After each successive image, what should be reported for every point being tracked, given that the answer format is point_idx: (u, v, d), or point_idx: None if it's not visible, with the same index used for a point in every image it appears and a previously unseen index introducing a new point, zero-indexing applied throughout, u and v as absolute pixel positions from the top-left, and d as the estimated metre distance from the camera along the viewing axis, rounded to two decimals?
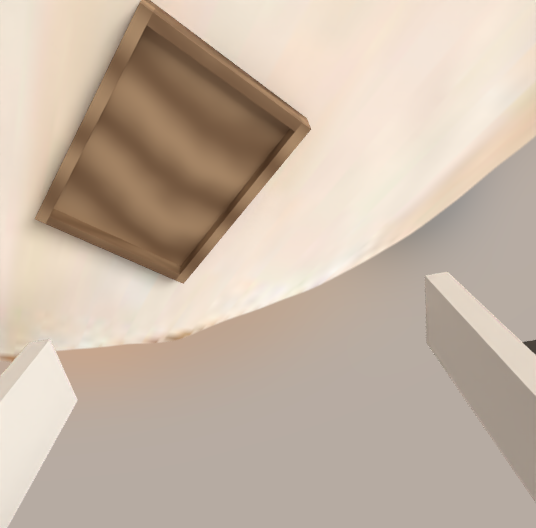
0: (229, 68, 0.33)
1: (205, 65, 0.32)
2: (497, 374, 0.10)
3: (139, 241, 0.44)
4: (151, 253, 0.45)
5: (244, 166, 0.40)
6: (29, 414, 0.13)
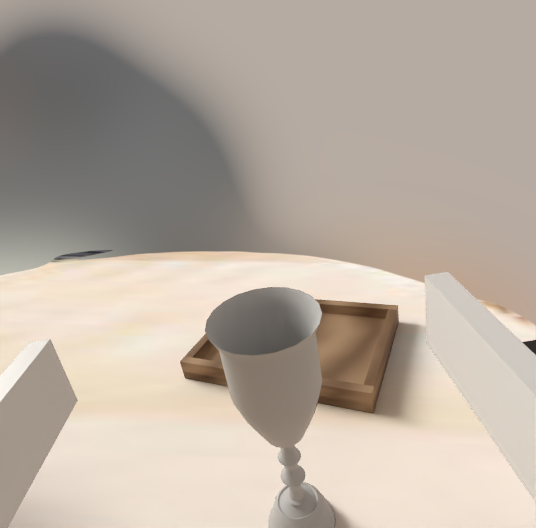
0: None
1: None
2: (497, 374, 0.10)
3: (374, 343, 0.48)
4: None
5: None
6: (29, 414, 0.13)
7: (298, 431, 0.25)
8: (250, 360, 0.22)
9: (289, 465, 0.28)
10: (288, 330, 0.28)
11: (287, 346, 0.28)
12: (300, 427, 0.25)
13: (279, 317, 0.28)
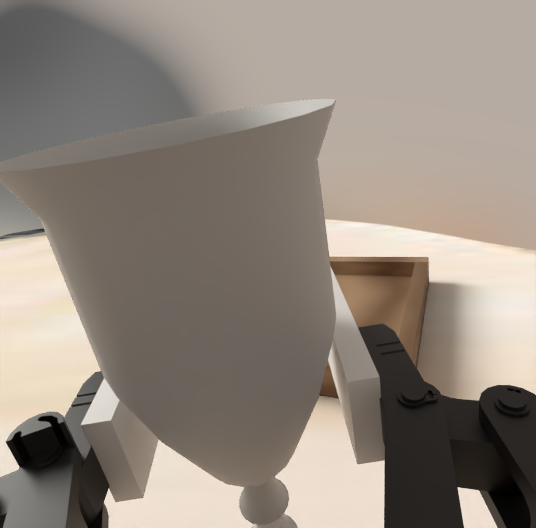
0: None
1: None
2: (334, 351, 0.12)
3: (399, 307, 0.33)
4: None
5: None
6: None
7: (277, 446, 0.09)
8: (88, 198, 0.06)
9: (263, 522, 0.12)
10: None
11: None
12: (282, 436, 0.09)
13: None
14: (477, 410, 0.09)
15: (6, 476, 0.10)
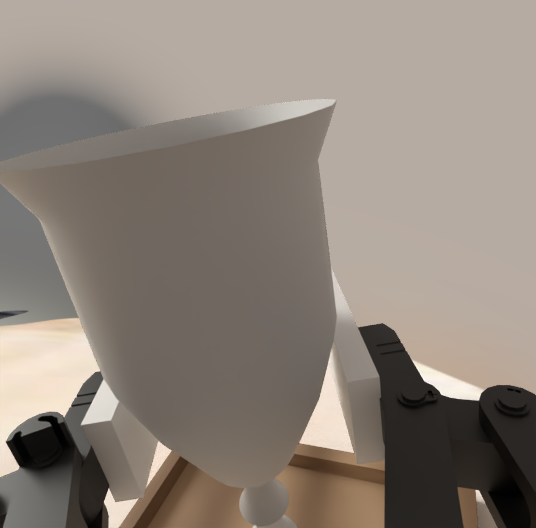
0: None
1: None
2: (334, 351, 0.12)
3: None
4: None
5: None
6: None
7: (278, 448, 0.09)
8: (88, 198, 0.06)
9: (263, 524, 0.12)
10: None
11: None
12: (282, 437, 0.09)
13: None
14: (477, 410, 0.09)
15: (6, 476, 0.10)
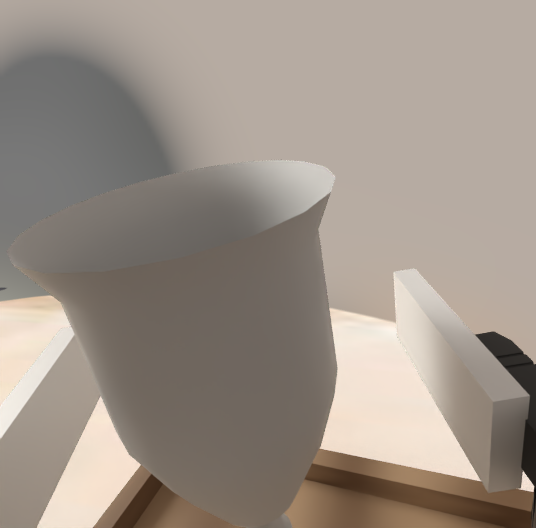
0: None
1: None
2: (450, 363, 0.11)
3: None
4: None
5: None
6: (65, 395, 0.13)
7: (281, 496, 0.10)
8: (105, 295, 0.06)
9: None
10: None
11: None
12: (286, 487, 0.10)
13: (238, 232, 0.13)
14: None
15: None
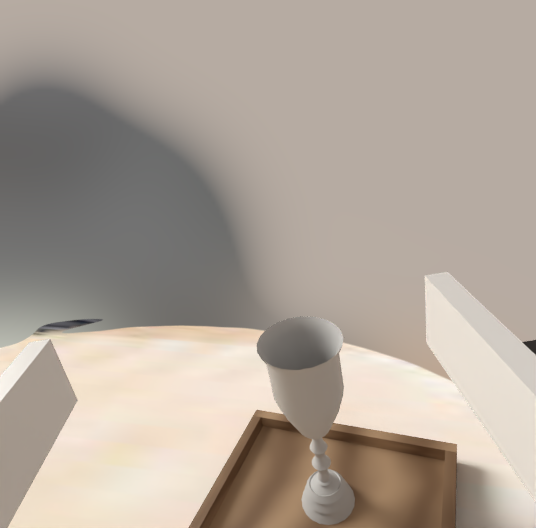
0: (223, 468, 0.44)
1: (222, 483, 0.42)
2: (497, 374, 0.10)
3: (433, 507, 0.37)
4: (443, 491, 0.38)
5: (305, 443, 0.46)
6: (29, 414, 0.13)
7: (327, 425, 0.34)
8: (294, 373, 0.30)
9: (319, 453, 0.37)
10: (315, 349, 0.36)
11: (315, 361, 0.37)
12: (328, 422, 0.33)
13: (309, 339, 0.36)
14: None
15: None
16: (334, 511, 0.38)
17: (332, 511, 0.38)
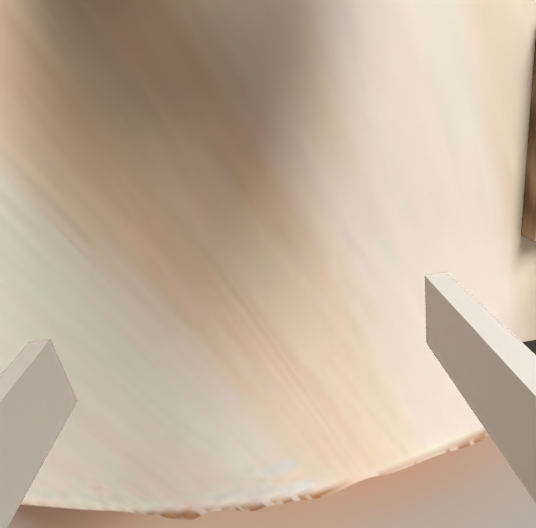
0: None
1: None
2: (497, 374, 0.10)
3: None
4: None
5: None
6: (29, 414, 0.13)
7: None
8: None
9: None
10: None
11: None
12: None
13: None
14: None
15: None
16: None
17: None
